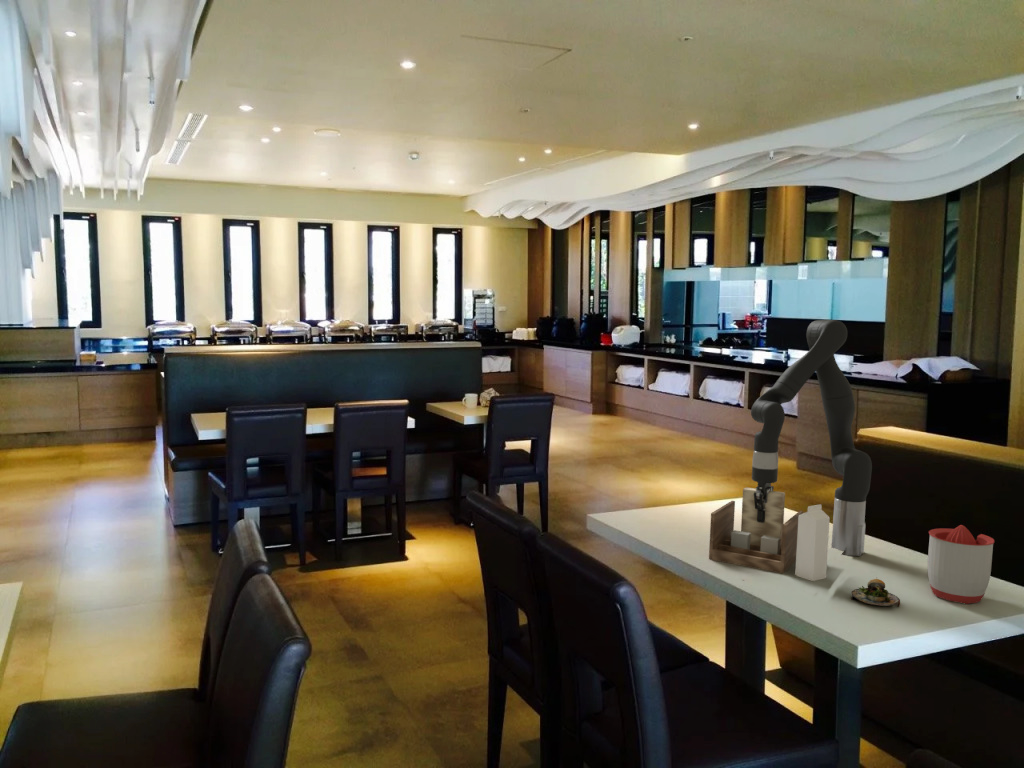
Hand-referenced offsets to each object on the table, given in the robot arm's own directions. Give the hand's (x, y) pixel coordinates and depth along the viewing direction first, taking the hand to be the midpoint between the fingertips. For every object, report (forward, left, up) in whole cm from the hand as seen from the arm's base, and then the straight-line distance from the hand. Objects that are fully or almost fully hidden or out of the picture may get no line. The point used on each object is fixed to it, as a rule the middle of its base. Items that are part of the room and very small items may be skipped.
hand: (762, 520), depth 251 cm
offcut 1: (+5, +6, -10) cm, 13 cm away
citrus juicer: (-54, +2, -12) cm, 55 cm away
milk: (-18, +14, -12) cm, 25 cm away
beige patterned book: (0, 0, -9) cm, 9 cm away
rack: (0, +6, -12) cm, 13 cm away
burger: (-36, +20, -12) cm, 43 cm away
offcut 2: (-4, +6, -10) cm, 13 cm away
